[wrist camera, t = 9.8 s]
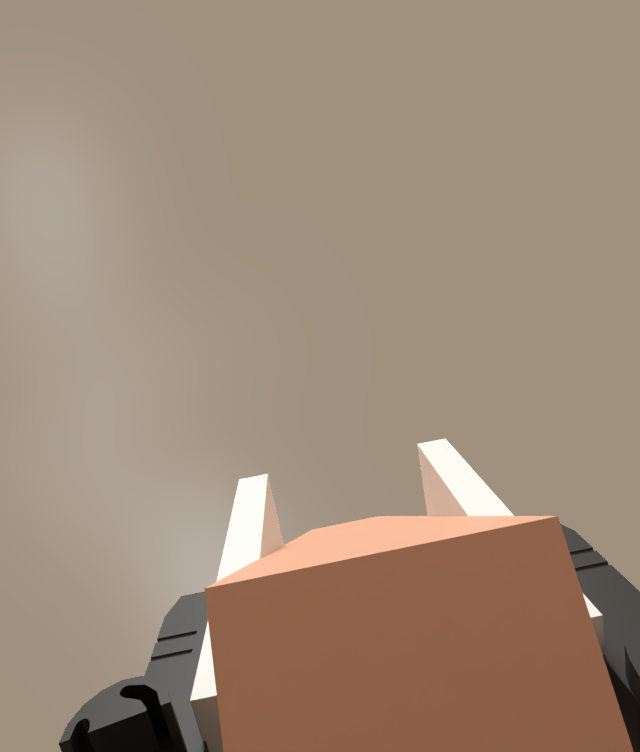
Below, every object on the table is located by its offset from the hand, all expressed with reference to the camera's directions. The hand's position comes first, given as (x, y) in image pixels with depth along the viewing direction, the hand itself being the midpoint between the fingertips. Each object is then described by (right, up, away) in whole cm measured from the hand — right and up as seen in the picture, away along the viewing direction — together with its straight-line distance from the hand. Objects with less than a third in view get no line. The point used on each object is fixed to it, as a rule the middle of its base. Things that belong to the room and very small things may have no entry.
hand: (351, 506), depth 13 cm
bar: (+1, -6, +3) cm, 6 cm away
